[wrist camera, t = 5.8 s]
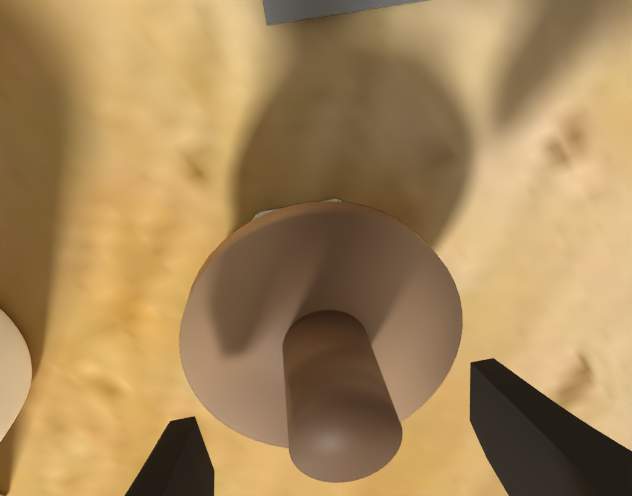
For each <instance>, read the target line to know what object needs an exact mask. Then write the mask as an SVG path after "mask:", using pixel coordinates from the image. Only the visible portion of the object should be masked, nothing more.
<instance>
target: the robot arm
mask: <svg viewBox="0 0 632 496" xmlns="http://www.w3.org/2000/svg"><path fill="white" fill-rule="evenodd" d="M470 422H471V424H472V426H473V428H474V431H475V433H476V435H477V438H478V440H479V442H480V444H481V446H482V449H483V451H484V453H485V455H486V457H487V459H488V461H489V463H490V464H491V466H492V468H493V469H494V471H495V473H496V475H497V476H498V478H499V480H500V481H501V483H502V485H503V486H504V488H505V490H506V492H507V493H508V495H509V496H632V451H630V450H629V449H627V448H625V447H624V446H622V445H620V444H618V443H617V442H615V441H614V440H612V439H610V438H609V437H607V436H606V435H604V434H602V433H601V432H599V431H597V430H596V429H594V428H593V427H591V426H589V425H588V424H586V423H585V422H583V421H582V420H580V419H579V418H577V417H576V416H574V415H573V414H571V413H570V412H568V411H567V410H565V409H564V408H562V407H561V406H559V405H558V404H557V403H555V402H554V401H552V400H551V399H549V398H548V397H546V396H545V395H544V394H542V393H541V392H539V391H538V390H537V389H535V388H534V387H532V386H531V385H530V384H528V383H527V382H526V381H524V380H523V379H521V378H520V377H519V376H517V375H516V374H514V373H513V372H512V371H510V370H509V369H508V368H506V367H505V366H503V365H502V364H501V363H499V362H498V361H497V360H495V359H494V358H492V359H487V360H481V361H476V362H471V369H470ZM125 496H214V469H213V466H212V463H211V460H210V457H209V455H208V452H207V449H206V446H205V443H204V441H203V438H202V435H201V432H200V430H199V427H198V424H197V421H196V418H195V416H194V417H189V418H184V419H178V420H173V421H170V423H169V424H168V425H167V427H166V429H165V430H164V432H163V434H162V435H161V437H160V439H159V440H158V442H157V444H156V446H155V447H154V449H153V451H152V452H151V454H150V456H149V457H148V459H147V461H146V462H145V464H144V466H143V467H142V469H141V471H140V472H139V474H138V475H137V477H136V479H135V480H134V482H133V483H132V485H131V486H130V488H129V490H128V491H127V493H126V494H125Z"/></svg>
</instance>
